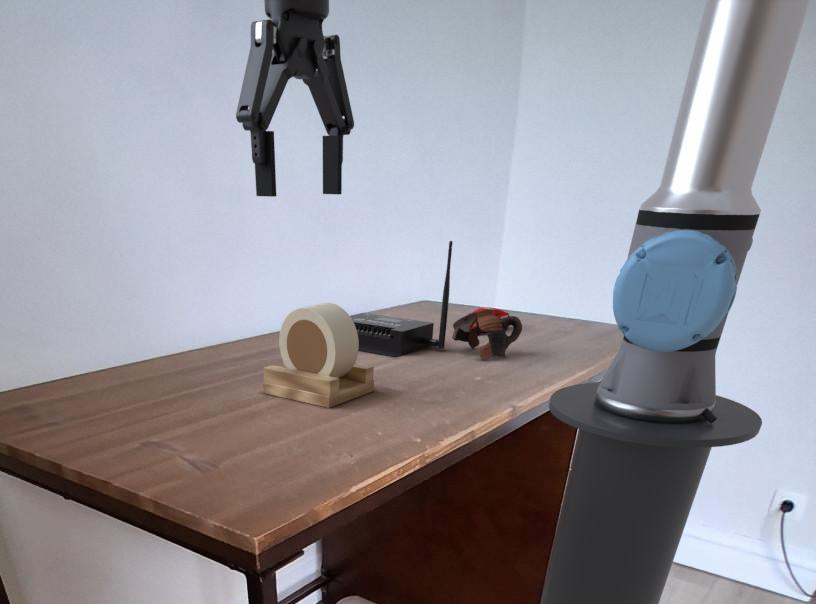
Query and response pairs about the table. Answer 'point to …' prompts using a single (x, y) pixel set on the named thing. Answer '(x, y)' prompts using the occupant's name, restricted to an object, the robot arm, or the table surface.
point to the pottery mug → (491, 327)
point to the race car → (497, 313)
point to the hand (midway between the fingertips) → (300, 195)
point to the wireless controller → (401, 329)
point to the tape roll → (319, 340)
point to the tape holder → (318, 385)
